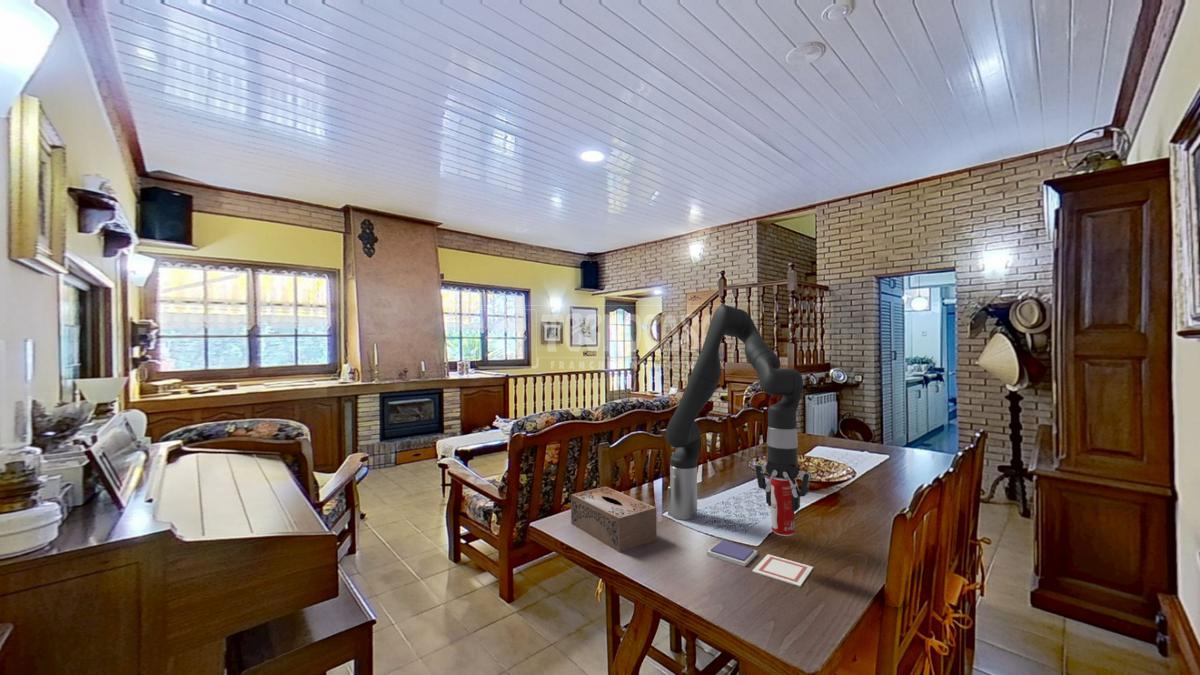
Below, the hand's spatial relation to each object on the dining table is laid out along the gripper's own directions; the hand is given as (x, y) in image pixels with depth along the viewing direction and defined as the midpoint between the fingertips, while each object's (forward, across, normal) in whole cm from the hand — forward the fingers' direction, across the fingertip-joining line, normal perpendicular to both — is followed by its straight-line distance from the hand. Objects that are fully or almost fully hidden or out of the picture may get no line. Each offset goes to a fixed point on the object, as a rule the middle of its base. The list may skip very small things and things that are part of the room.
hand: (782, 507), depth 123 cm
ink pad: (+16, +14, 0) cm, 21 cm away
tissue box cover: (+17, +50, +8) cm, 54 cm away
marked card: (+16, 0, 0) cm, 16 cm away
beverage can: (+7, 0, 0) cm, 7 cm away
